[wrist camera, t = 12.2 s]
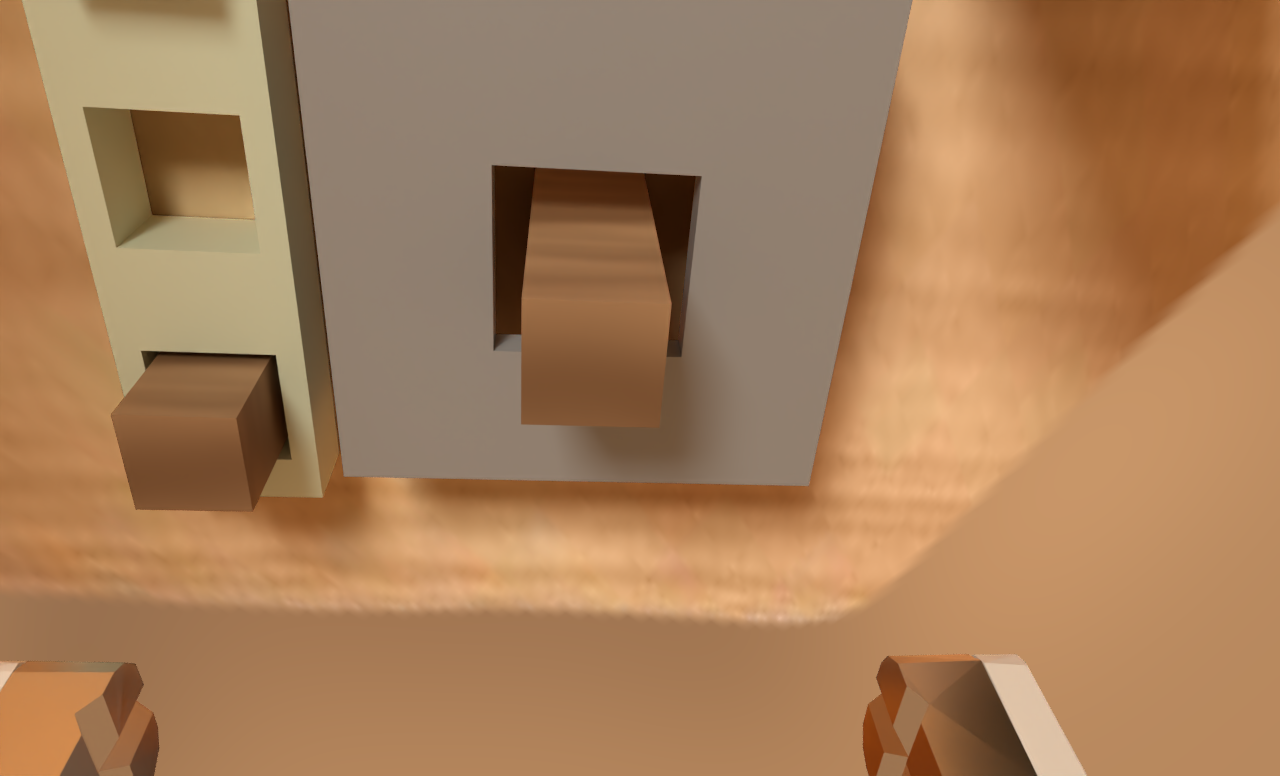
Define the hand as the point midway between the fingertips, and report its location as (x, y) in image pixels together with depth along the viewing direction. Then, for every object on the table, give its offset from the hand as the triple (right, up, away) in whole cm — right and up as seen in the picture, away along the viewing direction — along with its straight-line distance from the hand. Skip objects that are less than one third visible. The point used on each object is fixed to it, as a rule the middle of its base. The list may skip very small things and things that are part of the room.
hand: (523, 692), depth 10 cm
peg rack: (-11, +10, +16) cm, 22 cm away
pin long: (0, +9, +18) cm, 20 cm away
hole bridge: (0, +9, +18) cm, 20 cm away
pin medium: (-12, +4, +20) cm, 23 cm away
